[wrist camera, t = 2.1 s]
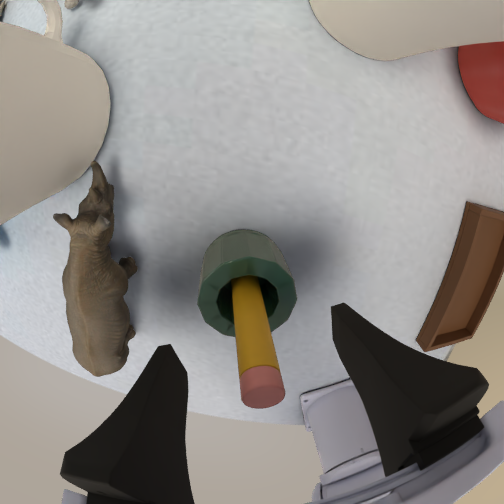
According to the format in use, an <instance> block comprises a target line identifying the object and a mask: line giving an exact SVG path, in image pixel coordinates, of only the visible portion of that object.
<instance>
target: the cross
mask: <svg viewBox="0 0 504 504" xmlns="http://www.w3.org/2000/svg"><path fill="white" fill-rule="evenodd" d="M4 6H5V1H4V2H3V3H1V4H0V16H1V14H2V11H3V9H4Z"/></svg>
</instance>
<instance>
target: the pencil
mask: <svg viewBox="0 0 504 504" xmlns="http://www.w3.org/2000/svg"><path fill="white" fill-rule="evenodd" d="M231 285H232V298H233V311H234V323H235V335H236V347H237V358H238V369H239V379H240V390H241V399H242V401H243V403H244V404H245V405H246V406H248V407H251V408H268V407H272V406H274V405H276V404H278V403H280V402H281V401H282V400H283V399H284V397H285V389H284V385H283V381H282V377H281V373H280V368H279V364H278V360H277V356H276V351H275V347H274V343H273V339H272V335H271V331H270V326H269V322H268V318H267V314H266V310H265V306H264V301H263V297H262V293H261V289H260V285H259V281H258V277H257V276H253V275H246V276H242V277H238V278H233V279H231Z"/></svg>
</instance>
